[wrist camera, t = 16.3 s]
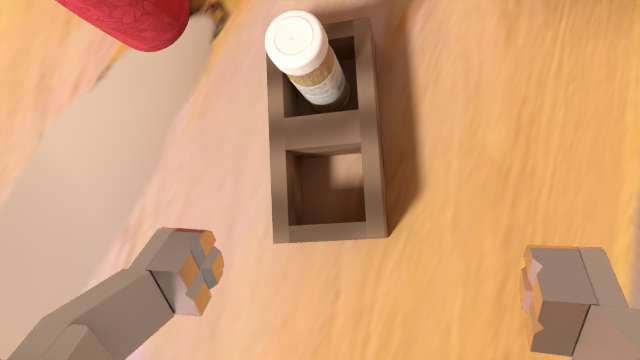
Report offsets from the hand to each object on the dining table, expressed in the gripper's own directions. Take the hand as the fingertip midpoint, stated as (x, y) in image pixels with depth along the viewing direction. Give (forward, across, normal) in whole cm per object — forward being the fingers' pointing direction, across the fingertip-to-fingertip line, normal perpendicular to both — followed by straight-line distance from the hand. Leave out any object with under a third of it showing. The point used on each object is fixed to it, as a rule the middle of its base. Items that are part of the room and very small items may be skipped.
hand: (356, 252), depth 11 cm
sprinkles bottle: (+32, +9, +11) cm, 35 cm away
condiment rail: (+28, +8, +14) cm, 33 cm away
